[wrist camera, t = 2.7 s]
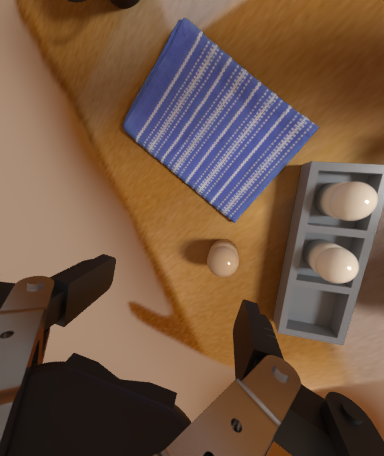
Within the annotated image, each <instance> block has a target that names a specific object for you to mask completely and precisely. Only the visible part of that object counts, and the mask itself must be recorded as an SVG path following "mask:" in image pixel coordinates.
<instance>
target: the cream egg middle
mask: <svg viewBox="0 0 384 456" xmlns="http://www.w3.org/2000/svg"><path fill="white" fill-rule="evenodd" d="M303 256H304V260H305V262H306V263H307V264H308V265H309V266H310V267H311V268H312V269H313V270H314V271H315V272H316V273H317V274H318V275H319V276H320V277H321V278H323V279H324V280H326V281H328V282H331V283H338V284H339V283H346V282H349V281H351V280H353V279H354V278H355V277H356V275H357V274H358V271H359V263H358V260H357V258H356V257H355V256H354V255H353V254H352V253H351V252H350V251H348V250H347V249H345V248H343V247H341V246H339V245H337V244H335V243H333V242H331V241H329V240H325V239H319V240H315V241H312V242H311V243H309V244H308V245H307V246H306V248H305V250H304V254H303Z"/></svg>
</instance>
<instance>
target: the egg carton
mask: <svg viewBox="0 0 384 456" xmlns="http://www.w3.org/2000/svg"><path fill="white" fill-rule="evenodd" d="M352 181H357V182H363V183H366V184H368V185H370V186H371V187H373V189H374V190H375V191H376V193H377V195H378V203H377V206H376V208H375V210H374V211H373V212H372V213H371V214H370V215H368V216H367V217H365V218H363V219H360V220H355V221H346V220H341V219H337V218H333V217H330V216H326V215H323V214H321V213H320V212H319V211H318V210H317V208H316V206H315V197H316V194H317V192H318V191H319V190H320V189H321V188H322V187H323V186H325V185H327V184H330V183H337V182H352ZM383 206H384V165H375V164H354V163H334V162H313V161H312V162H309V163H306V164H303V165H302V166H301V172H300V177H299V182H298V188H297V193H296V198H295V204H294V209H293V214H292V220H291V225H290V230H289V236H288V241H287V246H286V251H285V257H284V262H283V267H282V273H281V278H280V283H279V289H278V294H277V299H276V305H275V310H274V315H273V320H274V323H275V326H276V329H277V332H278V333H281V334H287V335H292V336H297V337H302V338H307V339H312V340H318V341H323V342H328V343H333V344H338V345H344V341H345V338H346V335H347V331H348V328H349V324H350V321H351V317H352V314H353V310H354V307H355V303H356V300H357V296H358V293H359V289H360V286H361V282H362V279H363V275H364V272H365V268H366V265H367V262H368V258H369V255H370V251H371V248H372V244H373V241H374V237H375V234H376V230H377V227H378V223H379V220H380V216H381V213H382V209H383ZM319 239H325V240H329V241H331V242H333V243H335V244H337V245H339V246H341V247H343V248H345V249H347V250H348V251H350V252H351V253H352V254H353V255H354V256H355V257H356V258H357V260H358V263H359V271H358V274H357V275H356V277H355V278H354V279H353V280H351V281H349V282H346V283H339V284H338V283H331V282H328V281H326V280H324V279H323V278H321V277H320V276H319V275H318V274H317V273H316V272H315V271H314V270H313V269H312V268H311V267H310V266H309V265H308V264H307V263H306V262H305V260H304V256H303V254H304V250H305V248H306V246H307V245H308V244H309V243H311V242H312V241H315V240H319Z"/></svg>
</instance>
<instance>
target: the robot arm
mask: <svg viewBox="0 0 384 456" xmlns="http://www.w3.org/2000/svg"><path fill="white" fill-rule="evenodd" d="M115 264H116V259H115V258H114V257H111V256H108V255H105V254H102V255H100V256H98V257H97V258H95V259H90V260H85V261H82V262H80V263H78V264H76V265H74V266H72V267H70V268H68V269H66V270H64V271H62V272H60V273H58V274H56V275H54V276H52V277H50V278H49V277H45V276H33V277H28V278H25V279H22V280H20V281H18V282H17V283H16V284H15V283H5V282H0V456H266V455H267V453H268V451H269V449H270V447H271V445H272V443H273V442H276V443H277V444H278V445H280V446H281V447H282V448H283V449H285V450H286V451H287V452H288V453H290V454H291V455H292V456H384V441H383V439H382V438H381V436H380V435H379V433H378V431H377V429H376V428H375V426H374V424H373V423H372V421H371V420H370V418H369V417H368V416H367V415H366V413H365V412H364V411H363V410H362V409H361V408H360V407H359V406H357V404H355V403H354V402H353V401H352V400H350V399H349V398H347V397H346V396H344V395H342V394H340V393H336V392H329V393H328V394H327V396H326V397H325V399H324V398H322V397H320V396H319V395H317V394H316V393H314V392H312V391H311V390H309V389H308V388H306V387H305V386H303V385H302V384H301V380H300V378H299V375H298V374H297V372H296V371H295V370H294V368H293V367H292V366H291V365H290V364H289V363H287V362H286V361H285V360H284V359H283V356H282V353H281V350H280V348H279V345H278V342H277V339H276V336H275V333H274V332H273V331H274V330H273V328H272V325H271V323H270V321H269V320H268V319H267V317H266V316H265V315H262V314H260V311H259V308H258V304H257V303H254V302H251V301H248V300H245V299H244V300H243V301H242V303H241V306H240V309H239V312H238V315H237V317H236V320H235V323H234V328H233V342H234V359H235V376H236V380H235V381H234V382H233V383H231V384H230V385H229V387H227V389H225V390H224V392H222V393H221V394H220V395H219V397H217V398H216V399H215V400H214V401H213V402H212V403H211V404H210V405H209V406H208V407H207V408H206V409H205V410H204V411H203V413H201V414H200V415H199V416H198V417H197V418H196V419H195V420H194V421H193V422H192V423H191V421H190V420H189V418H188V417H187V416H186V414H185V413H184V412H183V411H182V410H181V409H180V408H179V407H177V406H176V405H175V399H176V395H177V393H176V392H173V391H171V390H168V389H165V388H163V387H160V386H158V385H155V384H153V383H149V382H139V381H129V380H121V379H119V378H117V377H116V376H115V375H113V374H112V373H111V372H110V371H108V370H107V369H106V368H105V367H104V366H102V365H101V364H100V363H98V362H96V361H94V360H91V359H89V358H86V357H84V356H81V355H78V354H76V353H73V354H72V356H71V357H70V358H69V359H68V360H67V361H66V362H49V363H44V364H42V363H43V359H44V355H45V350H46V346H47V342H48V337H49V333H50V327H51V326H52V325H53V324H57V325H60V326H63V327H65V326H66V325H67V324H68V323H70V322H71V321H72V320H73V319H74V318H76V317H77V316H78V315H79V314H80V313H81V312H83V311H84V310H85V309H86V308H87V307H88V306H90V305H91V304H92V303H93V302H94V301H96V300H97V299H98V298H99V297H100V296H101V295H103V294H104V293H105V292H106V291H107V290H108V289H109V288H110V286H111V284H112V281H113V276H114V270H115Z"/></svg>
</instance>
